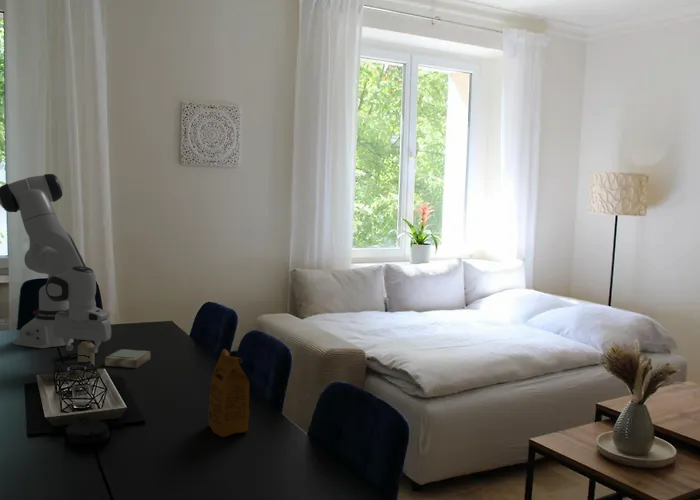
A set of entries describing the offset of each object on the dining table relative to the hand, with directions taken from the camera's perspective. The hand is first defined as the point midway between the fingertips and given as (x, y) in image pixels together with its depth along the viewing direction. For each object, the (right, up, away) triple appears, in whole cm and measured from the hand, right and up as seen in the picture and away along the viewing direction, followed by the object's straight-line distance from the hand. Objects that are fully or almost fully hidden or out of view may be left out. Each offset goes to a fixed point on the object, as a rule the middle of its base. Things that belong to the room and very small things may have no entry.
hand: (82, 351), depth 231 cm
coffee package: (+60, -15, -47) cm, 78 cm away
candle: (+1, -7, +2) cm, 7 cm away
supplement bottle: (-6, -5, +21) cm, 22 cm away
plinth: (+12, -6, +13) cm, 18 cm away
